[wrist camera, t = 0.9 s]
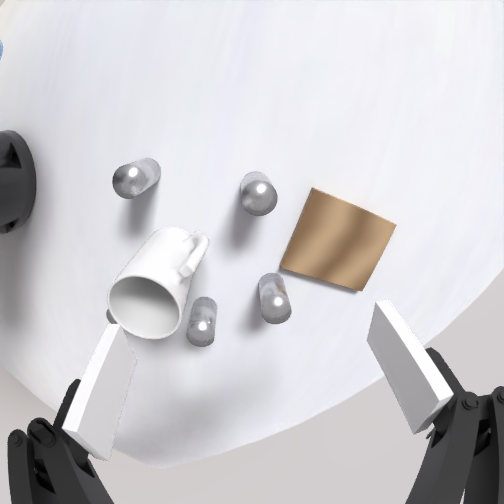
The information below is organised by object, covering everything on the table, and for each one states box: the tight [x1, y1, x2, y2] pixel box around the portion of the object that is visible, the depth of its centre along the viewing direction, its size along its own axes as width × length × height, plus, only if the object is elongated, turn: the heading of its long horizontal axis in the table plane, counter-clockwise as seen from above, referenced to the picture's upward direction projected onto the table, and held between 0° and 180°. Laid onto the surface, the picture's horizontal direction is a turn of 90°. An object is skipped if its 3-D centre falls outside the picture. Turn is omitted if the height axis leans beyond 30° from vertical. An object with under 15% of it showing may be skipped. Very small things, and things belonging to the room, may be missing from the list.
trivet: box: [280, 188, 396, 291], centre depth 32 cm, size 12×10×1 cm
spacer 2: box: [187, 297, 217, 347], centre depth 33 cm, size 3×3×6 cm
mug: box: [107, 227, 209, 339], centre depth 26 cm, size 10×7×12 cm, turn 126°
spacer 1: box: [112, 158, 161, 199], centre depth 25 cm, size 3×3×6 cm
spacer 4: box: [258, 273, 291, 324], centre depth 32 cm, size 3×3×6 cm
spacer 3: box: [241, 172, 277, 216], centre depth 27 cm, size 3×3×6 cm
